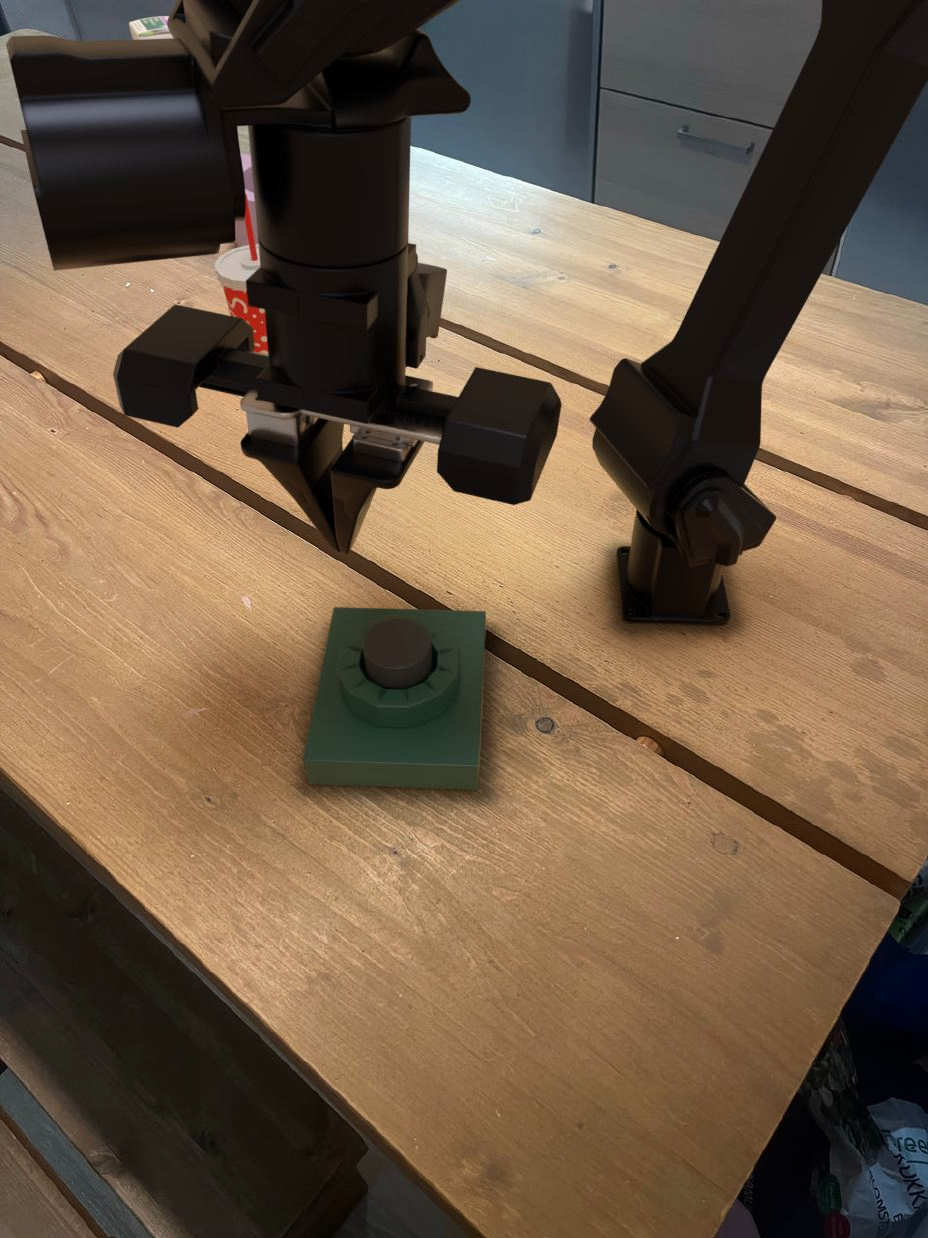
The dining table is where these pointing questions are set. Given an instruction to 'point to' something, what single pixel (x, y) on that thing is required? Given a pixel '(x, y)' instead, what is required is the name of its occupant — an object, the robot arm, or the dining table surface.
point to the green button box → (399, 707)
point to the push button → (397, 653)
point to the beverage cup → (243, 284)
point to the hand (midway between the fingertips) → (344, 547)
